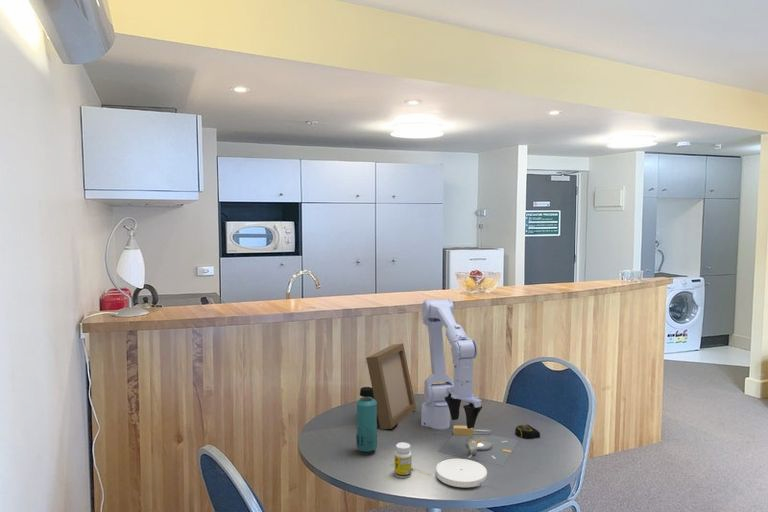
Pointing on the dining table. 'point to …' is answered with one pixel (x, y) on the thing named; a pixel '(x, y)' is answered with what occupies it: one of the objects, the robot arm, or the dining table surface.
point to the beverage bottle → (366, 421)
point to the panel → (494, 455)
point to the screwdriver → (466, 431)
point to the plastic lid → (461, 472)
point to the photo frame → (391, 385)
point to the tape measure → (526, 432)
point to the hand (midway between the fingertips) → (462, 423)
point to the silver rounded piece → (478, 444)
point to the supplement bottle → (403, 460)
